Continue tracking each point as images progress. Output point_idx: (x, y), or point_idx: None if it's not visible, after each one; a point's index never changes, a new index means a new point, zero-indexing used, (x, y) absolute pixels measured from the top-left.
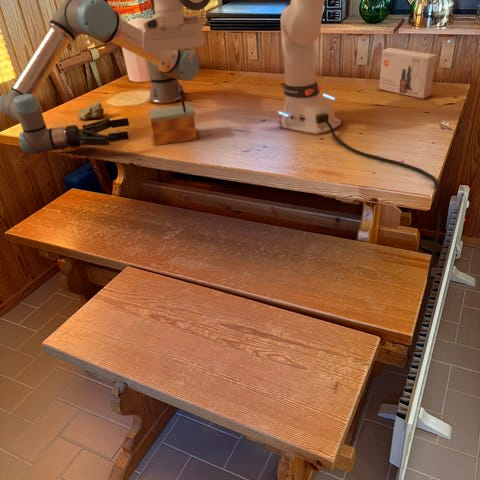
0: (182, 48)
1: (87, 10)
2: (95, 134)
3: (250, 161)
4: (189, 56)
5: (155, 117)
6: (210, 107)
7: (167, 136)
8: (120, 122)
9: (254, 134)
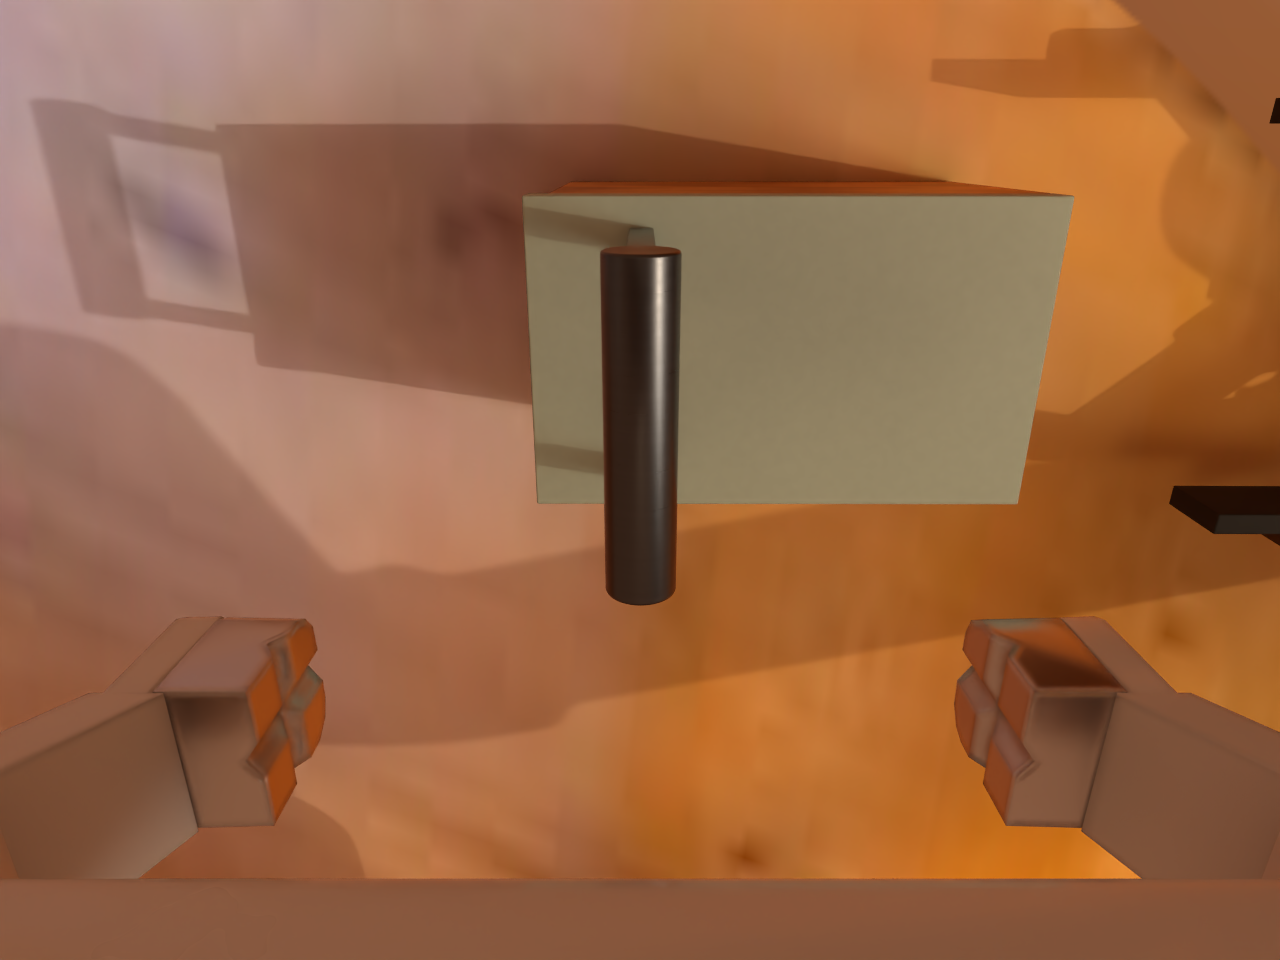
0: (246, 884)
1: None
2: None
3: None
4: (203, 734)
5: (1009, 207)
6: (412, 821)
7: (847, 184)
8: (1277, 503)
9: (18, 73)
